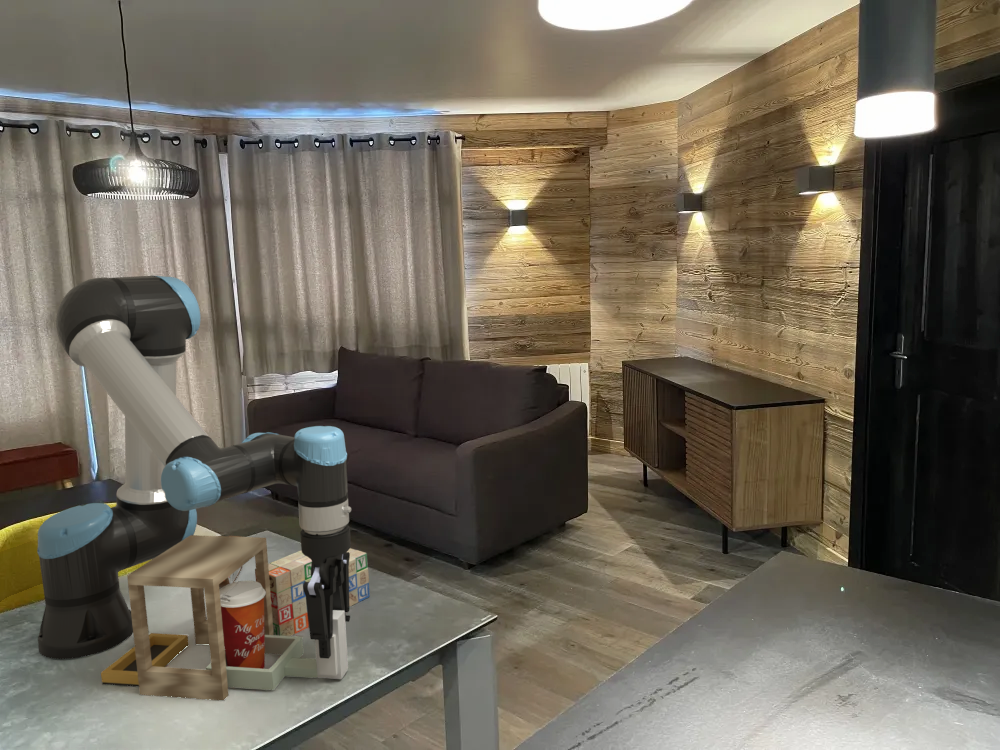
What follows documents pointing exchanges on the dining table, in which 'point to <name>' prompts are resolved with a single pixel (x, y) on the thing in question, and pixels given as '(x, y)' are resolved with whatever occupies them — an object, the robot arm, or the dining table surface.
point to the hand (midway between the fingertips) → (333, 667)
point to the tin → (232, 576)
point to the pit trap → (161, 655)
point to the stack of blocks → (290, 594)
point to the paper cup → (243, 624)
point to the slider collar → (289, 660)
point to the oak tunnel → (195, 609)
